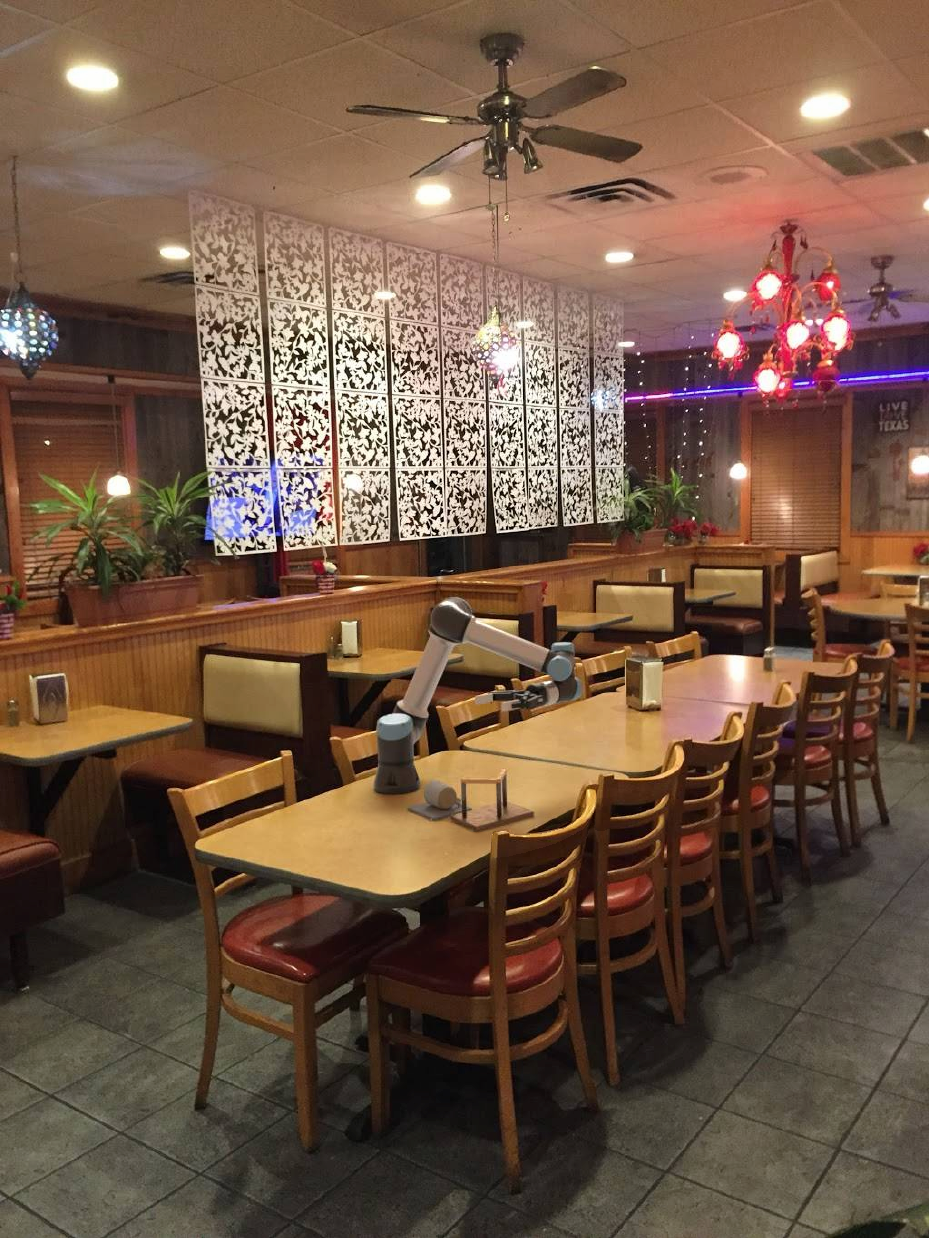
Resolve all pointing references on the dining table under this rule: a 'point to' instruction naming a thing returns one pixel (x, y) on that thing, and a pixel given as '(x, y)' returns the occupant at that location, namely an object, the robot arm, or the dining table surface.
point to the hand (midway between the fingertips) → (488, 703)
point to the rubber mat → (436, 810)
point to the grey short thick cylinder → (440, 795)
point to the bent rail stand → (490, 807)
